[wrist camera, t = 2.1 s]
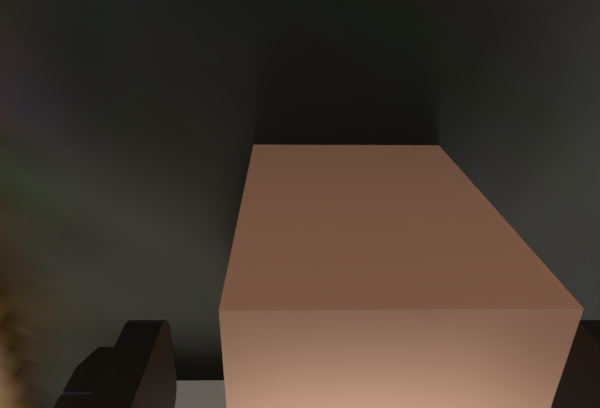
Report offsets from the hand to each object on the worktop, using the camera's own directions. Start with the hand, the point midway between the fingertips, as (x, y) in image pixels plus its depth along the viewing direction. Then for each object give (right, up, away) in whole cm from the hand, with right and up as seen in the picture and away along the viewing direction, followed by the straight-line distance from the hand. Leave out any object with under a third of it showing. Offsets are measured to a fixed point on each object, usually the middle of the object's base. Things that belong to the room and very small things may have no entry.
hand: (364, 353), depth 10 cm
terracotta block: (0, +2, +4) cm, 5 cm away
